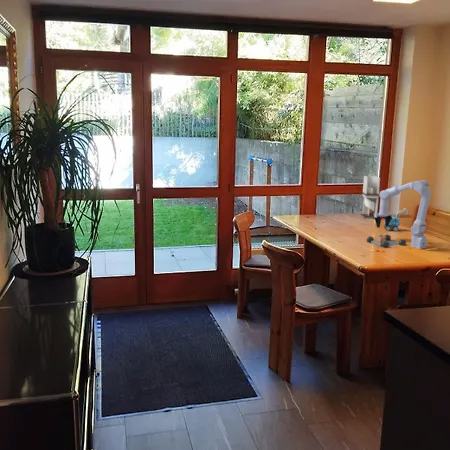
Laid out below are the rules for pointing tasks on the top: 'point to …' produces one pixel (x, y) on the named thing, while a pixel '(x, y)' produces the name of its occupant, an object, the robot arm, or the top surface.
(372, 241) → the chassis
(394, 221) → the toy excavator
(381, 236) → the block
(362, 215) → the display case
